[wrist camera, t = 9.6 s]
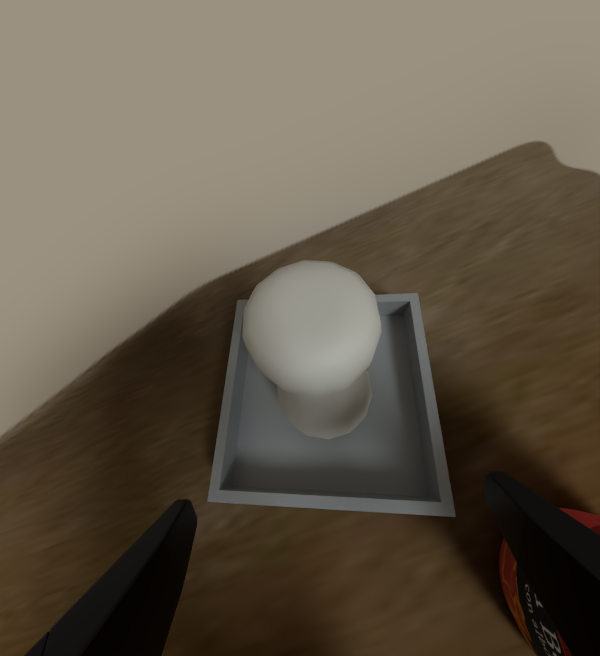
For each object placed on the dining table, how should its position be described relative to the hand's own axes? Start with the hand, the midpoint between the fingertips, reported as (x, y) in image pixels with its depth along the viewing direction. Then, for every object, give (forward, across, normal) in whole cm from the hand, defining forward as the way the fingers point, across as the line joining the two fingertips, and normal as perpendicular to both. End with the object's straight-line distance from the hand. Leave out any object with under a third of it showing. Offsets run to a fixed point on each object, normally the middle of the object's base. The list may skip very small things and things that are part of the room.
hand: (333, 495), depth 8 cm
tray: (+11, 0, +4) cm, 12 cm away
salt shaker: (+11, 0, +4) cm, 11 cm away
